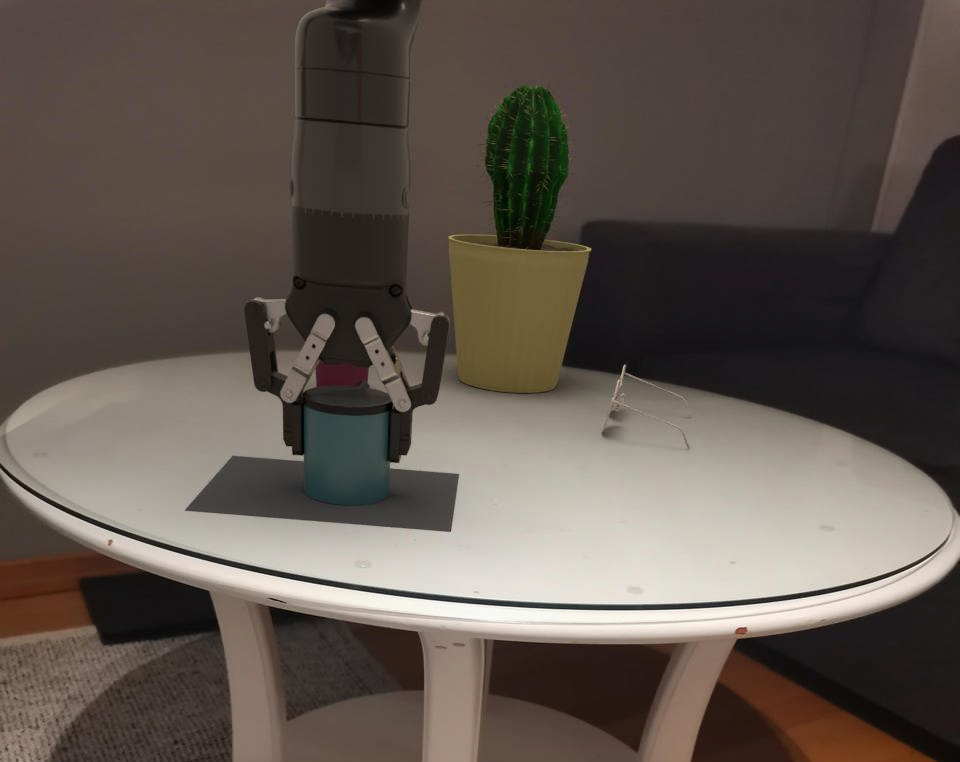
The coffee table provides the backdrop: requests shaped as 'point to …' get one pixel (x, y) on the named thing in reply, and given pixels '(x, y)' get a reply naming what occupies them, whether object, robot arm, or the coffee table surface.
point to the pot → (347, 444)
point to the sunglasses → (620, 404)
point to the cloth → (281, 495)
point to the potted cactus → (518, 256)
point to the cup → (340, 374)
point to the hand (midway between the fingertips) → (347, 455)
